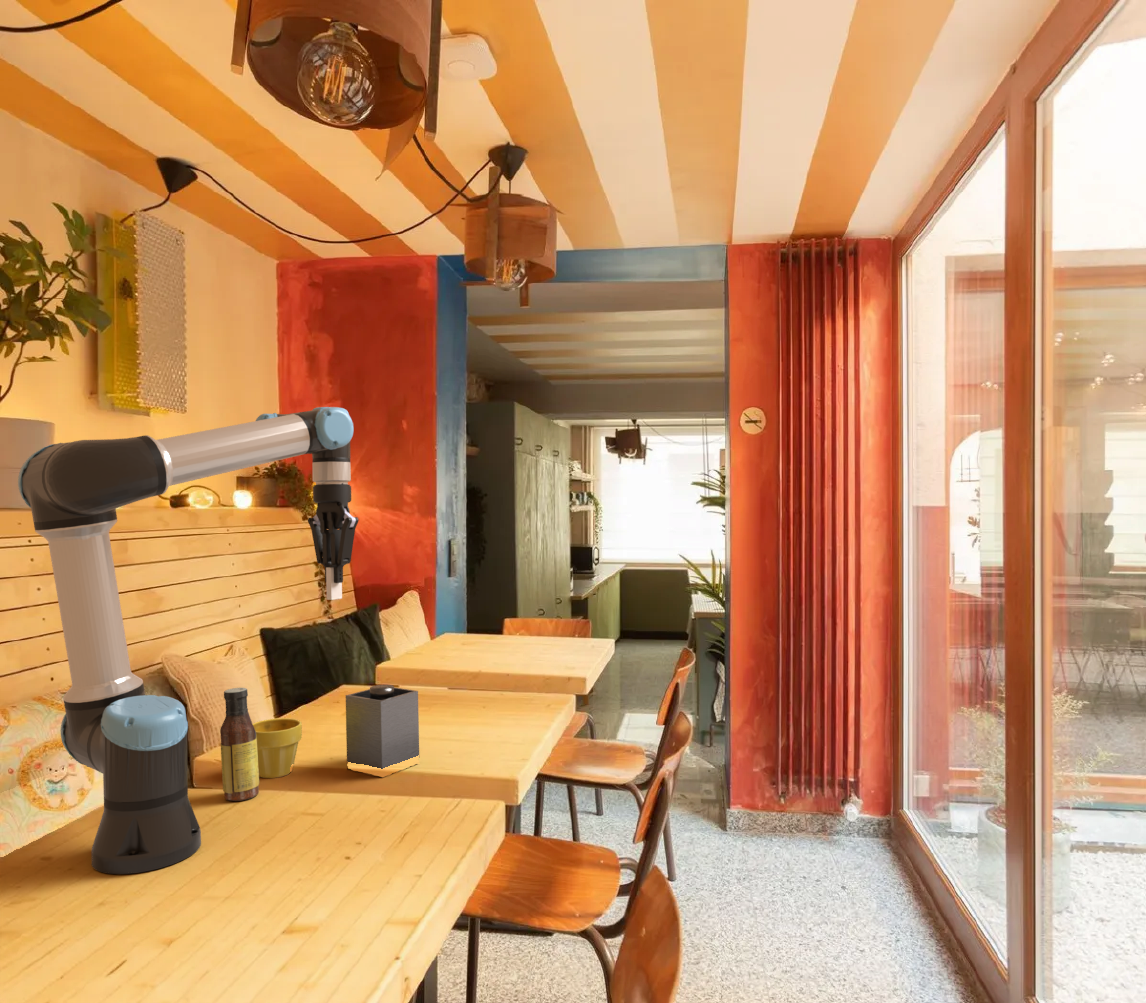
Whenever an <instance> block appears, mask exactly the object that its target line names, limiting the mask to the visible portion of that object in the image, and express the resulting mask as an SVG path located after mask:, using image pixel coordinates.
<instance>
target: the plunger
mask: <svg viewBox="0 0 1146 1003" xmlns="http://www.w3.org/2000/svg"><path fill="white" fill-rule="evenodd" d="M394 687H395V686H394V685H392V684H376V685H373V686H370V687H369V689H370V699H376V700H384V699H388V698H391V697H394Z"/></svg>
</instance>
